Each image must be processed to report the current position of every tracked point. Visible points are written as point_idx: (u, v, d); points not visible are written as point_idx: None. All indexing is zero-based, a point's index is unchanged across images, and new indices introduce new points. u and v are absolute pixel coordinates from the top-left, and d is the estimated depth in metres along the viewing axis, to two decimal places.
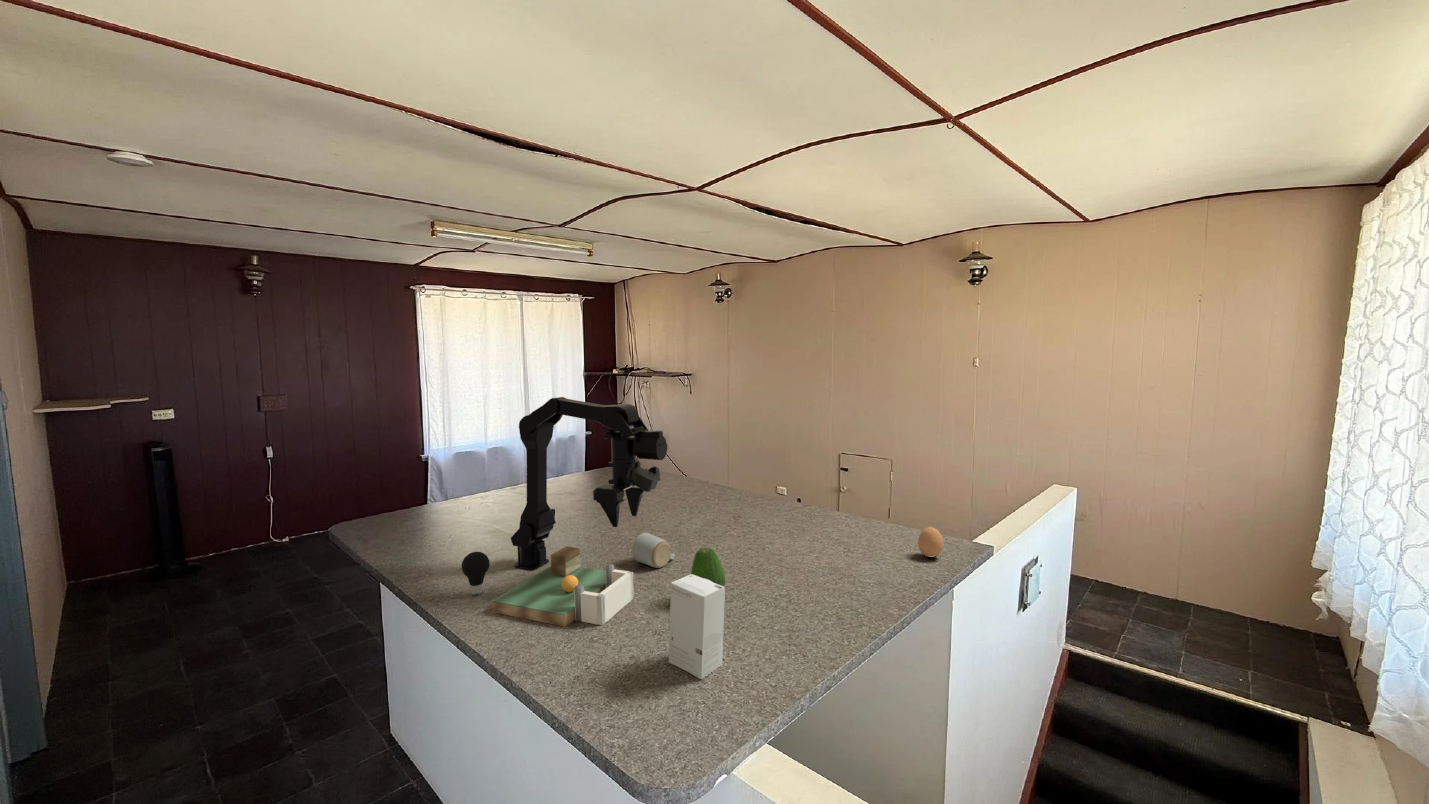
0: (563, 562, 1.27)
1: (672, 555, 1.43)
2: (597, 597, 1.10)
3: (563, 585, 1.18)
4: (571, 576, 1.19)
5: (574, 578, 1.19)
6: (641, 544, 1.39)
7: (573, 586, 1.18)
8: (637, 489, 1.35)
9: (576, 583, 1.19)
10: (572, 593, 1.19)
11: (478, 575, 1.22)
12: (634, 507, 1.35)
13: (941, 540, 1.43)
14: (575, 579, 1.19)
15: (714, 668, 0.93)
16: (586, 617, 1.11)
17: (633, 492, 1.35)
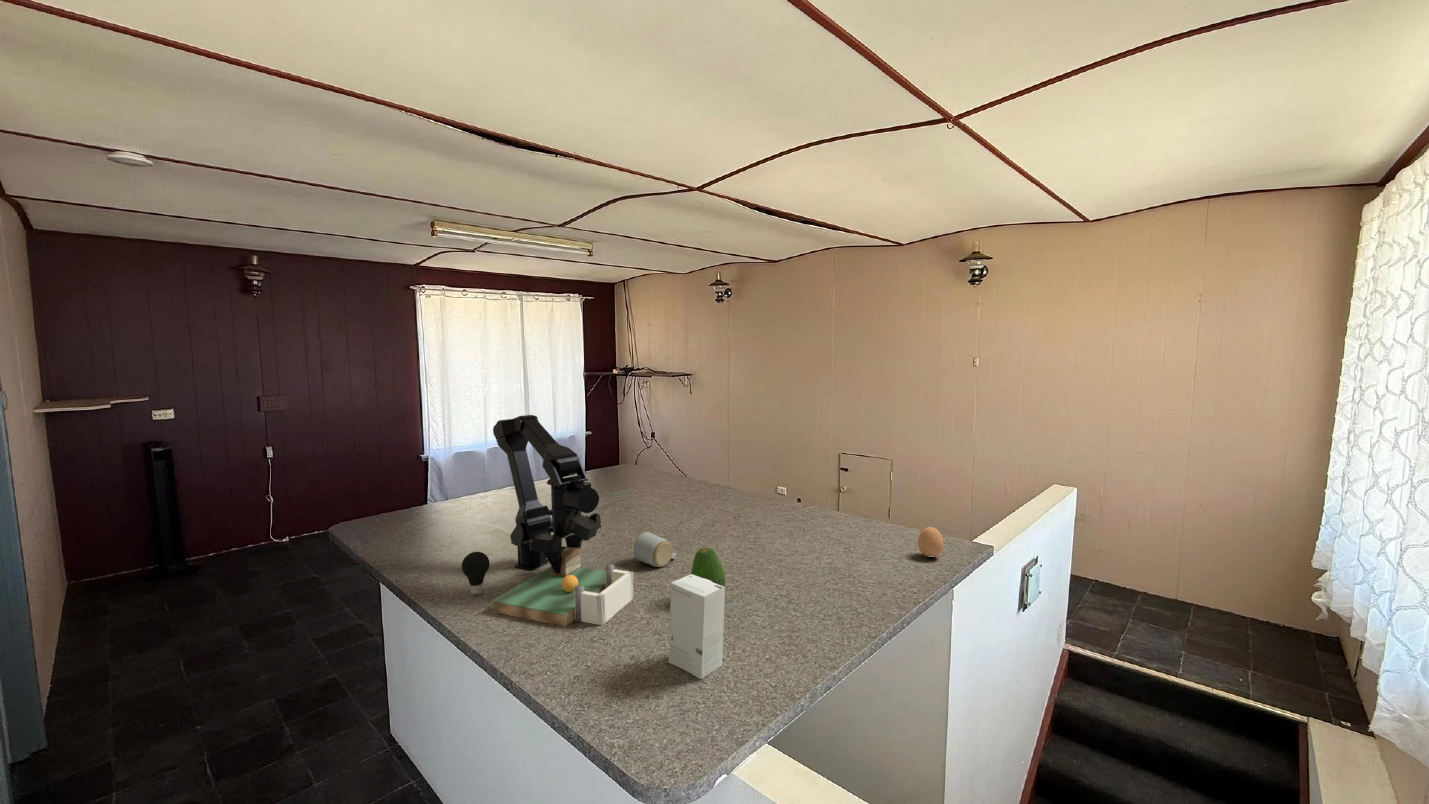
0: (563, 562, 1.27)
1: (673, 554, 1.43)
2: (597, 597, 1.10)
3: (563, 585, 1.18)
4: (571, 576, 1.19)
5: (574, 578, 1.19)
6: (642, 543, 1.40)
7: (573, 586, 1.18)
8: (576, 536, 1.33)
9: (576, 583, 1.19)
10: (572, 593, 1.19)
11: (478, 575, 1.22)
12: None
13: (941, 540, 1.43)
14: (575, 579, 1.19)
15: (714, 668, 0.93)
16: (586, 617, 1.11)
17: (572, 539, 1.34)
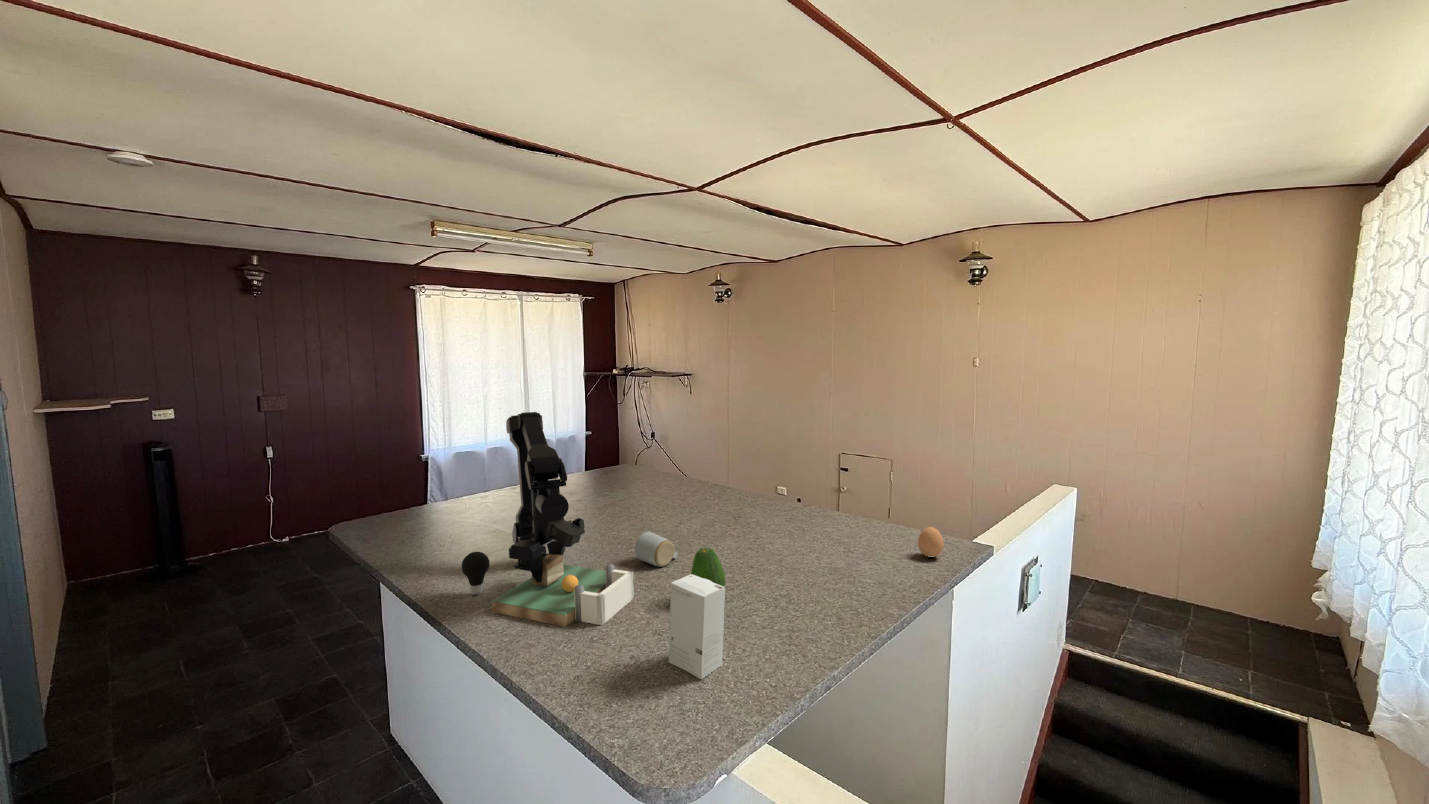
0: (544, 570, 1.20)
1: (675, 554, 1.44)
2: (597, 597, 1.10)
3: (563, 585, 1.18)
4: (571, 576, 1.19)
5: (574, 578, 1.19)
6: (644, 543, 1.40)
7: (573, 586, 1.18)
8: (559, 543, 1.27)
9: (576, 583, 1.19)
10: (572, 593, 1.19)
11: (478, 575, 1.22)
12: None
13: (941, 540, 1.43)
14: (575, 579, 1.19)
15: (714, 668, 0.93)
16: (586, 617, 1.11)
17: (555, 546, 1.27)
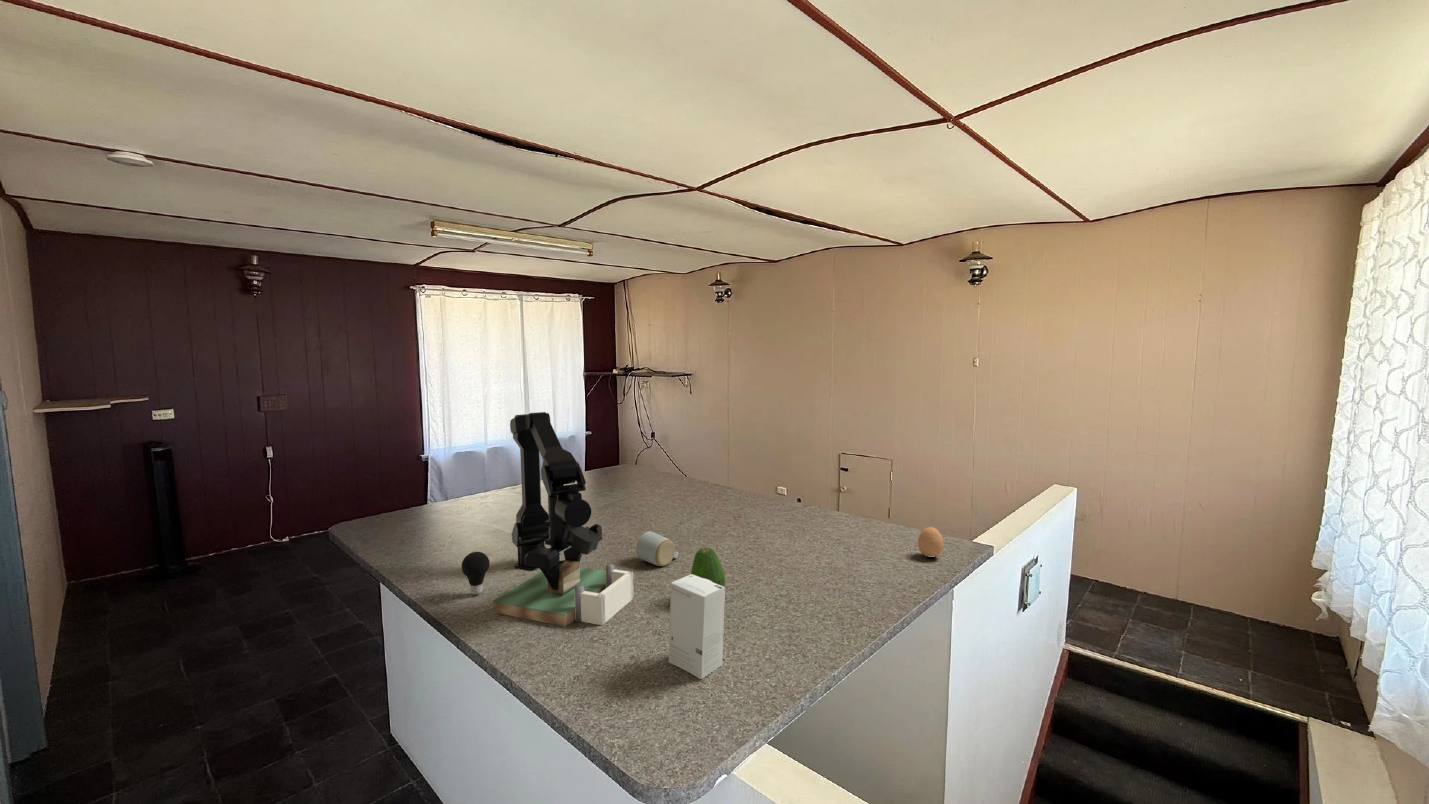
0: (560, 578, 1.17)
1: (676, 554, 1.44)
2: (597, 597, 1.10)
3: None
4: None
5: None
6: (645, 543, 1.41)
7: None
8: (575, 549, 1.23)
9: None
10: (572, 593, 1.19)
11: (478, 575, 1.22)
12: None
13: (941, 540, 1.43)
14: None
15: (714, 668, 0.93)
16: (586, 617, 1.11)
17: (571, 552, 1.23)
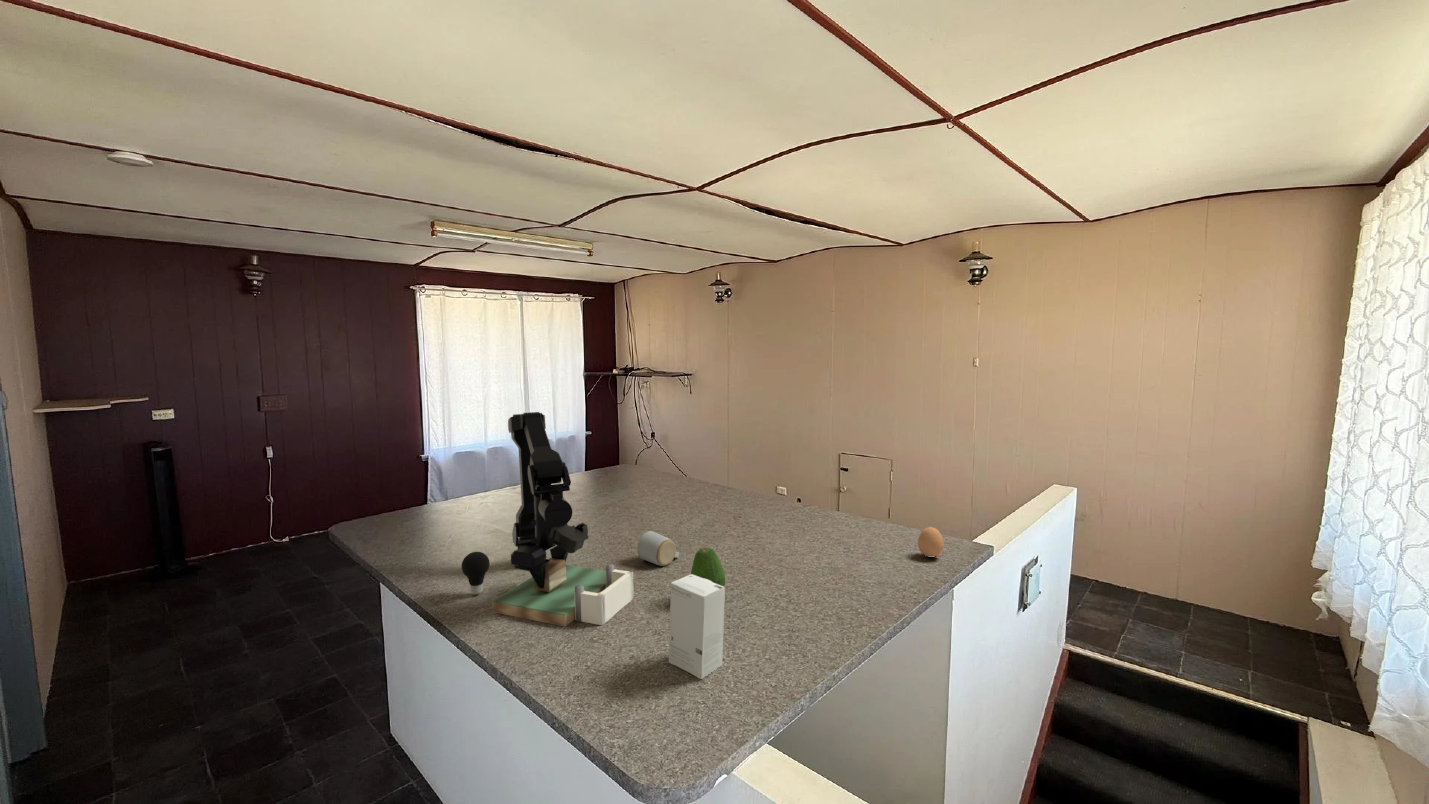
0: (546, 576, 1.18)
1: (676, 553, 1.44)
2: (597, 597, 1.10)
3: None
4: None
5: None
6: (646, 542, 1.41)
7: None
8: (562, 548, 1.24)
9: None
10: (572, 593, 1.19)
11: (478, 575, 1.22)
12: None
13: (941, 540, 1.43)
14: (600, 592, 1.17)
15: (714, 668, 0.93)
16: (586, 617, 1.11)
17: (558, 551, 1.25)
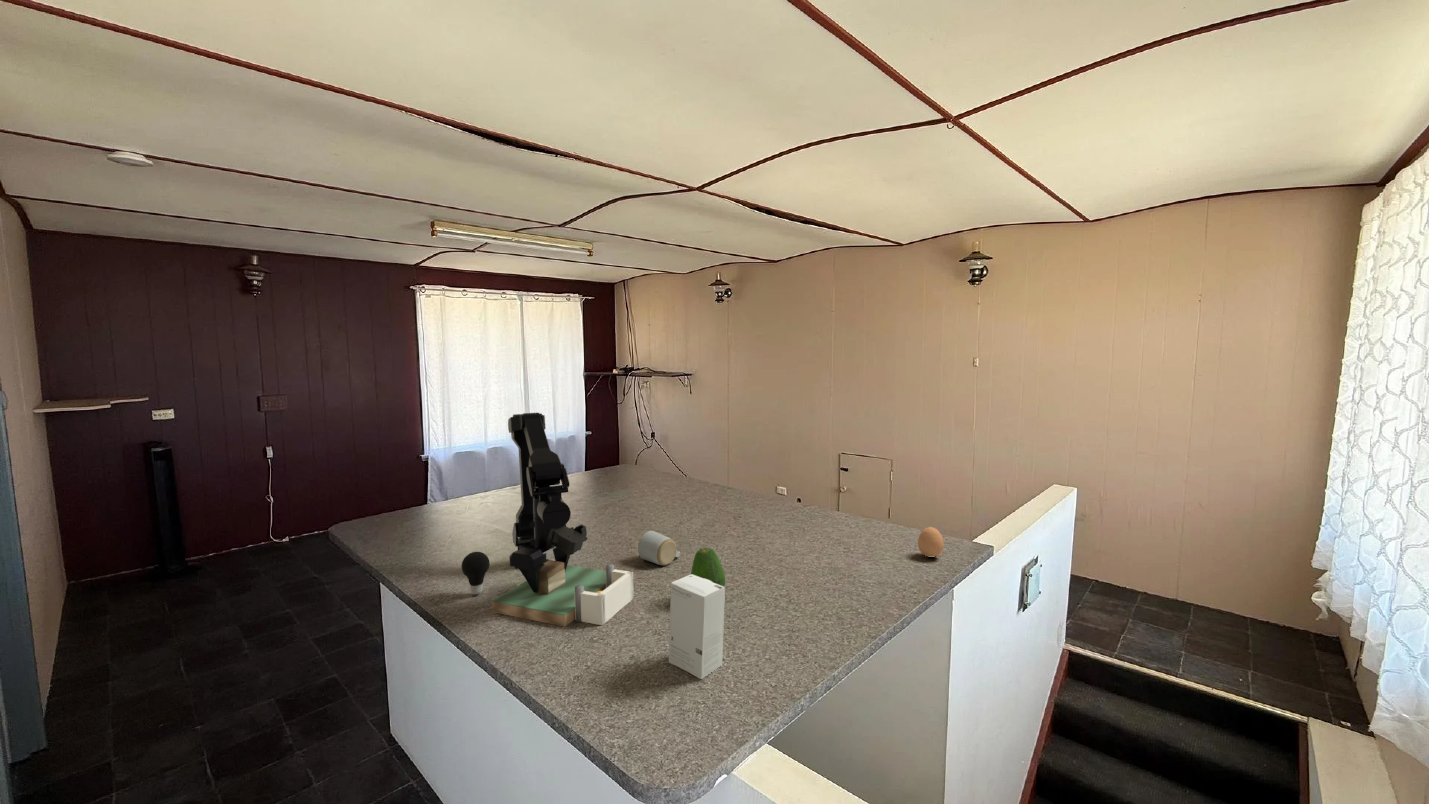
0: (545, 578, 1.18)
1: (677, 553, 1.44)
2: (597, 597, 1.10)
3: None
4: None
5: None
6: (647, 542, 1.41)
7: None
8: None
9: (597, 591, 1.17)
10: (572, 593, 1.19)
11: (478, 575, 1.22)
12: None
13: (941, 540, 1.43)
14: None
15: (714, 668, 0.93)
16: (586, 617, 1.11)
17: (560, 550, 1.26)
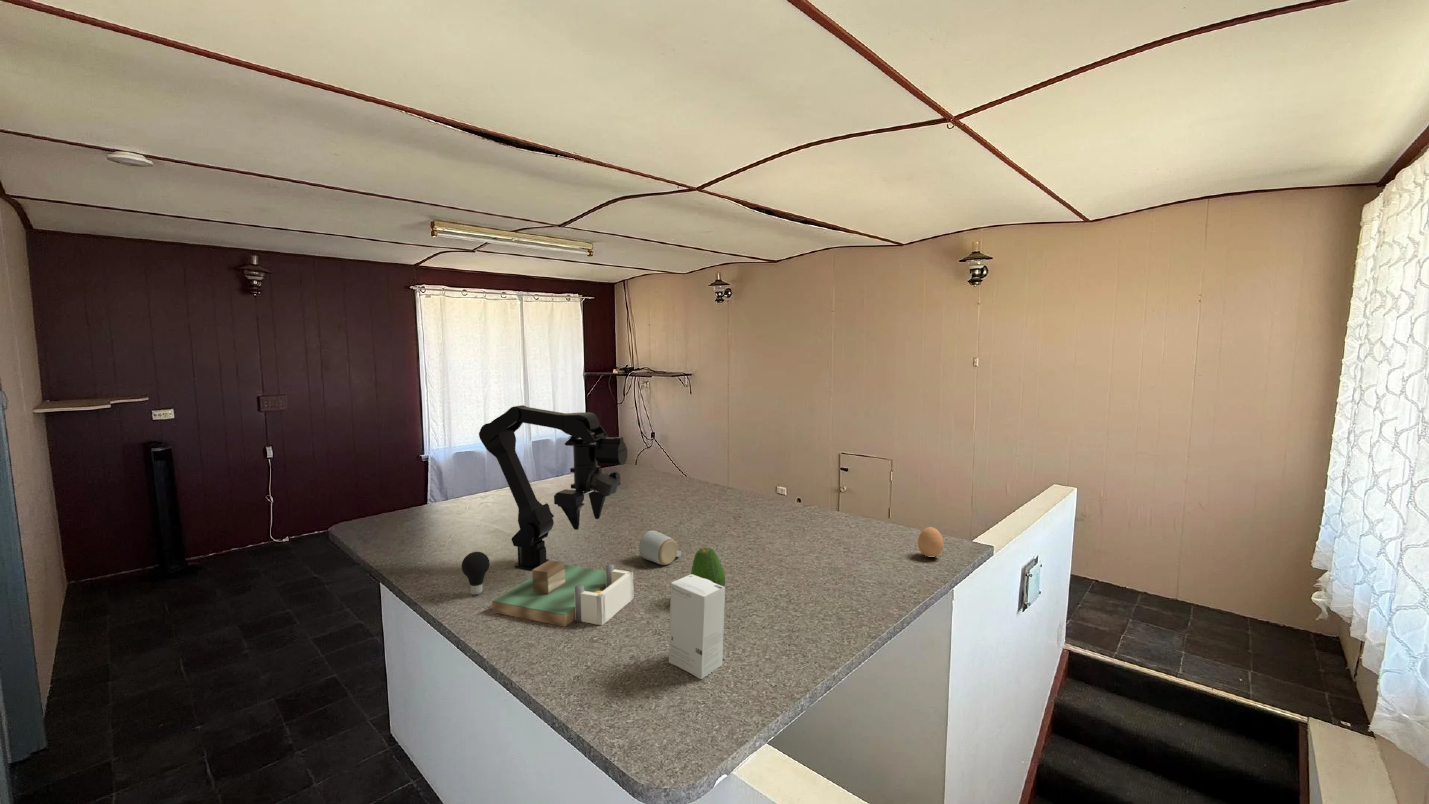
0: (545, 578, 1.18)
1: (678, 552, 1.45)
2: (597, 597, 1.10)
3: None
4: None
5: None
6: (648, 541, 1.41)
7: None
8: (600, 493, 1.41)
9: (595, 592, 1.18)
10: (572, 593, 1.19)
11: (478, 575, 1.22)
12: (597, 510, 1.41)
13: (941, 540, 1.43)
14: None
15: (714, 668, 0.93)
16: (586, 617, 1.11)
17: (596, 496, 1.41)
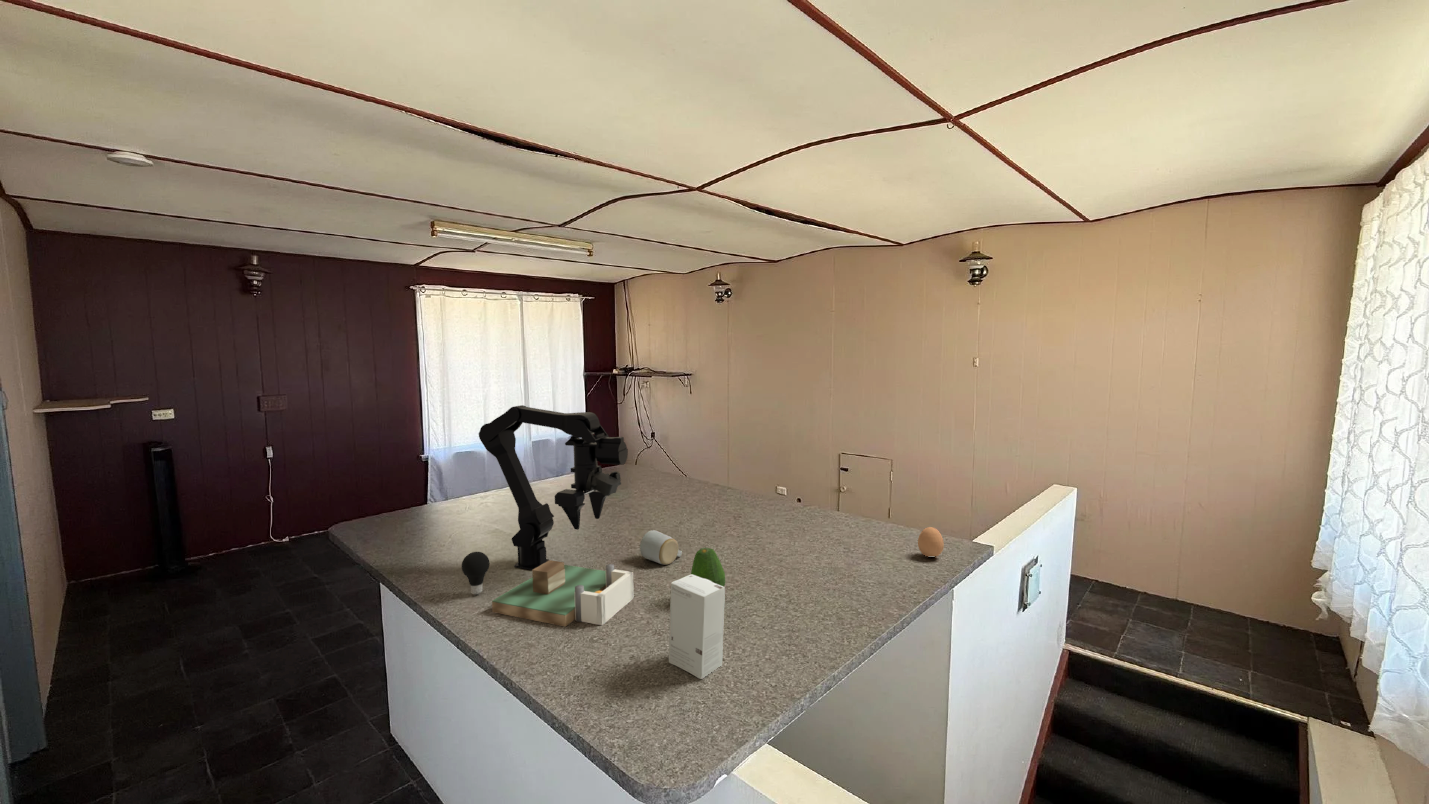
0: (545, 578, 1.18)
1: (679, 552, 1.45)
2: (597, 597, 1.10)
3: None
4: None
5: None
6: (649, 541, 1.42)
7: None
8: (600, 493, 1.41)
9: (595, 592, 1.17)
10: (572, 593, 1.19)
11: (478, 575, 1.22)
12: (597, 510, 1.41)
13: (941, 540, 1.43)
14: None
15: (714, 668, 0.93)
16: (586, 617, 1.11)
17: (596, 496, 1.41)
